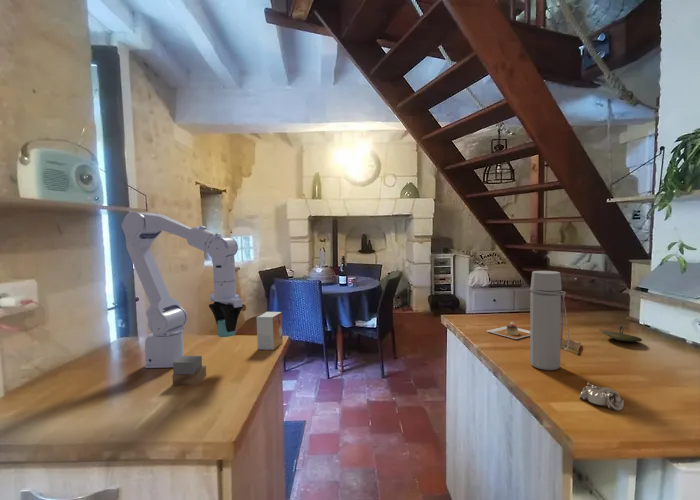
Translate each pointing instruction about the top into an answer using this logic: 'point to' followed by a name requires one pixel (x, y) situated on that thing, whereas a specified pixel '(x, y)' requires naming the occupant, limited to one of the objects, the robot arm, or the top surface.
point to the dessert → (510, 331)
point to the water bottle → (546, 320)
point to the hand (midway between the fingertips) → (226, 329)
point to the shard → (571, 346)
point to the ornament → (602, 397)
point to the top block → (187, 365)
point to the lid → (621, 336)
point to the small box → (269, 330)
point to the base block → (189, 378)
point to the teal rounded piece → (223, 329)
